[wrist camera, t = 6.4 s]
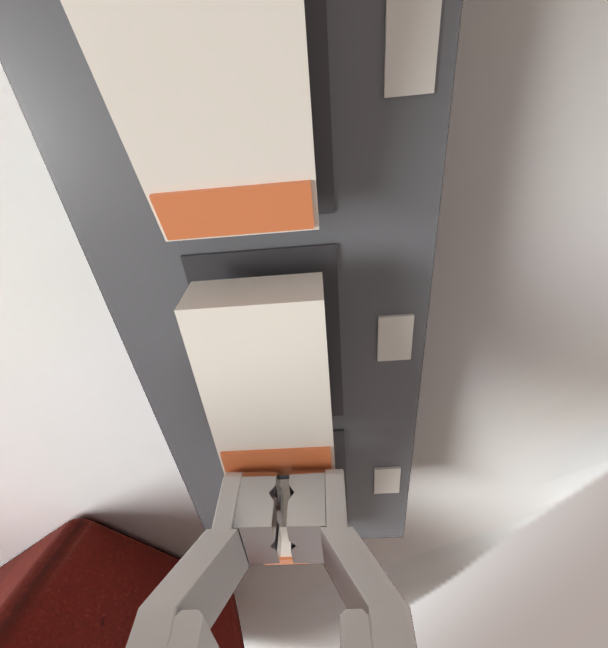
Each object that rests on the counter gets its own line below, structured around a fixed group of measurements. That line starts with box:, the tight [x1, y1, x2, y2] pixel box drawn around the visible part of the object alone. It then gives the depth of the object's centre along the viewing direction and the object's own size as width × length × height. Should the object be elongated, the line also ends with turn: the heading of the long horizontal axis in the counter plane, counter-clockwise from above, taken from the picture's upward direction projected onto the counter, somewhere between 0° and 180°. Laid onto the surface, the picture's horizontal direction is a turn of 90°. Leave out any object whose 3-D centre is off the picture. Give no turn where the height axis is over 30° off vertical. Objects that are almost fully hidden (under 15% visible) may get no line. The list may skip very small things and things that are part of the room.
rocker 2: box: [174, 272, 335, 475], centre depth 10 cm, size 6×3×2 cm, turn 5°
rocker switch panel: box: [0, 0, 463, 538], centre depth 11 cm, size 29×9×4 cm, turn 5°
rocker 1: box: [60, 0, 319, 242], centre depth 6 cm, size 6×3×2 cm, turn 4°
